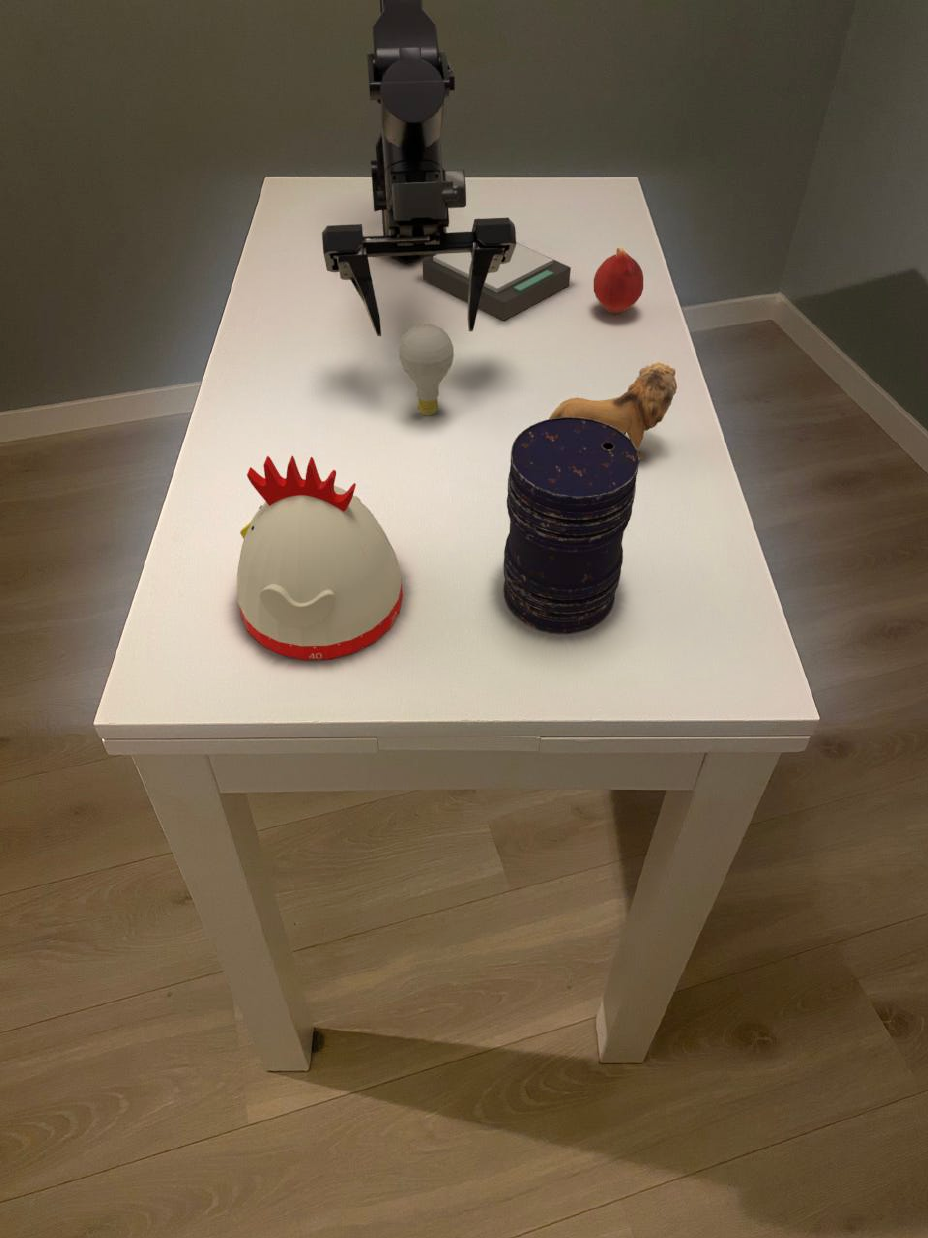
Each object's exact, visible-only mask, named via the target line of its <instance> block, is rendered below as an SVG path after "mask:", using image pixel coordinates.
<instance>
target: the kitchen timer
mask: <svg viewBox="0 0 928 1238" xmlns="http://www.w3.org/2000/svg"><path fill="white" fill-rule="evenodd" d="M263 473H264V476H262V475H261V474H259V473H258V472H257V471H256V470H255V469H254V468H253V467H251V466H250V467H249V469H248V471H247V474H246V477H247V479H248V482H250V484H251V485H252V486H253V488H254V489H255V490H256V492H257V493H258V494H259V495H260V496H261V498H262V499H263V500H264V503H263V504H262V505H260V506H259V507H258V510H257V511H256V513H255V514H254V516H253V517H252V519H251V521H250V522H249V523H247V524H246V525H245V526H244V527H243V528H242V529H241V530H240V532H239V533H240V535H241V537H242V539H243V540H242V544H241V548H240V553H239V558H238V565H237V572H236V584H237V585H236V587H237V589H236V591H237V604H238V608H239V612H240V616H241V619H242V620H243V622H244V625H245V627H246V629H247V631H248V633H249V634H250V635H251V636H252V637H253V638H254V639H255V640H256V641H257V642H258V643H259V644H260V645H262V647H264V648H267V649H269V650H270V651H273V652H274V653H277V654H279V655H281V656H284V657H289V658H294V659H299V660H304V661H307V660H309V661H311V660H331V659H335V658H339V657H343V656H348V655H351V654H354V653H356V652H358V651H360V650H363V649H364V648H366V647H368V646H371V645H372V644H374V643H375V642H376V641H377V640H378V639H380V638H381V637H382V636H383V635H384V634H385V633H386V632H387V631H389V630H390V629H391V628H392V626H393V624H394V622H395V621H396V619H397V617H398V616H399V614H400V612H401V608H402V602H403V595H404V593H403V581H402V575H401V571H400V570H401V569H400V565H399V561H398V557H397V554H396V552H395V549H394V548H393V546H392V544H391V542H390V540H389V538H388V536H387V534H386V533H385V531H384V529H383V527H382V526H381V524H380V523H379V521H378V519H377V518H376V517H375V515H374V513H372V511H371V509H369V508H368V507H367V505H365V504H364V503H363V502H362V501H361V498H359V496H357V495H354V494H355V490H356V485H357V483H356V482H354V483H352V484H351V486H350V487H349V489H348V490H345V489H344V488H341V487H339V486H336V485H335V482H336V477H337V471H336V469H333V470H332V471H331V472H330V473H329V474H328V476H327V478H326V479H325V480H322V479H321V477H320V474H319V470H318V468H317V465H316V462H315V459H314V457H313V456H310V458H309V461H308V464H307V467H306V472H305V478H302V476H301V473H300V472H299V469H298V466H297V463H296V460H295V457H294V455H291V456H290V458H289V461H288V464H287V469H286V476H285V477H283V476H282V475H281V474H280V472H279V471H278V469H277V467H276V465H275V464H274V461H273V460H272V459H271V457H270V455H266V458H265V460H264V463H263Z"/></svg>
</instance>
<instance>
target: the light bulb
mask: <svg viewBox="0 0 928 1238" xmlns="http://www.w3.org/2000/svg"><path fill="white" fill-rule="evenodd" d="M454 350H455V349H454V344H453V342H452V339H451V338H450V335H449V333H447V332H446V331H445V330H444V329H443V328H442V327H440V326H438V325H435V324H431V323H421V324H417V325H415V326H412V327H410V329H408V330H407V332H406V333H404V335H403V337H402V338H401V341H400V344H399V348H398V354H399V357H398V358H399V361H400V364H401V367H402V368H403V370H404V372H405V373H406V374H407V376H408V377H409V378H410V379H411V380H412V383H413V384H414V385H415V388H416V397H417V404H418V405H417V409H418V410H417V411H418V412H419V413H420V414H421V415H426V416H429V415H430V416H431V415H433V414H435V413H436V412H437V410H438V408H439V407H438V406H439V403H438V399H439V396H440V393H439V392H440V391H439V388H440V384H441V382H442V381H443V379H444V378H445V377H446V375H447V374H448V372H449V371H450V369H451V368H452V365H453V362H454V355H455V352H454Z"/></svg>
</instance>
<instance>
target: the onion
mask: <svg viewBox="0 0 928 1238" xmlns="http://www.w3.org/2000/svg"><path fill="white" fill-rule="evenodd" d="M643 291H644V273H643V270H642V268H641V266H640V264H639V263H638V262H637V260H635V259H634V257H632V256H631V255H629V253H628V252H626V250H625V248H623V247H617V248H616V252H615V254H613V255H611V256H609V257H607V258H606V259H605V260H604V261H603V262H602V263H601V264H600V265H599V267H598V268H597V269H596V272H595V273H594V277H593V293H594V296H595V297H596V299H597V300H598V302H599V303H600V304H601V305H602V306H603V307H605V309H607V311H608V312H610V313H611V314H617V313H618V314H619V313H620V312H623V311H625V310H628V309H629V308H631V307H632V306H633V305H635V304H636V303H637V301H638V300H639V299H640V298H641V297H642V294H643Z"/></svg>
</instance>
